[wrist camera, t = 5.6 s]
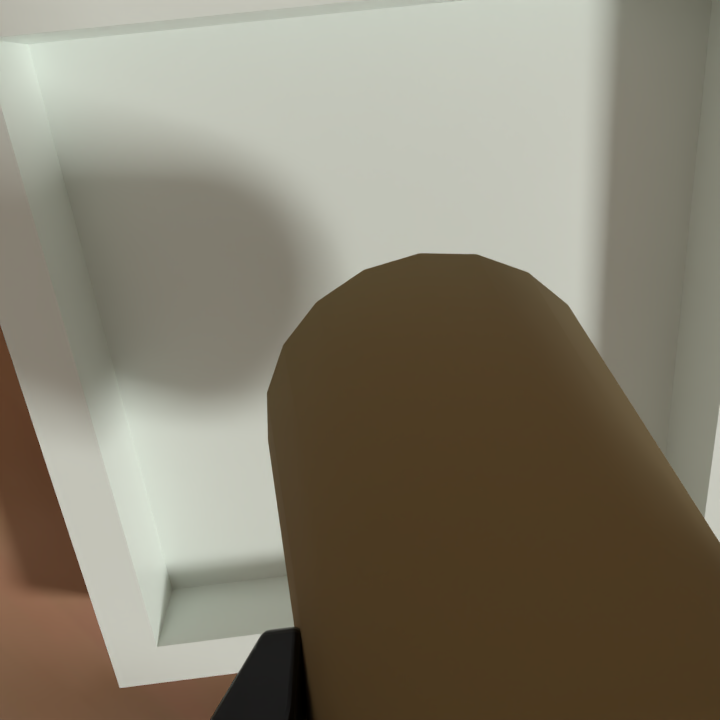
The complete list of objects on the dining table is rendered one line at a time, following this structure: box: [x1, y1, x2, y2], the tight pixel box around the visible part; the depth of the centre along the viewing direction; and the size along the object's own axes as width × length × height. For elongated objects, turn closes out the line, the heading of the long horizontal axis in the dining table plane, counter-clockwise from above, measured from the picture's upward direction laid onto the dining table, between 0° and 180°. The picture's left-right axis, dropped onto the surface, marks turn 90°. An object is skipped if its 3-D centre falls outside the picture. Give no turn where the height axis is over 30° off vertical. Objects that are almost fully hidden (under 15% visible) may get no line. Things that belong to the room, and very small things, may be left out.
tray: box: [0, 0, 720, 688], centre depth 15 cm, size 16×16×3 cm
